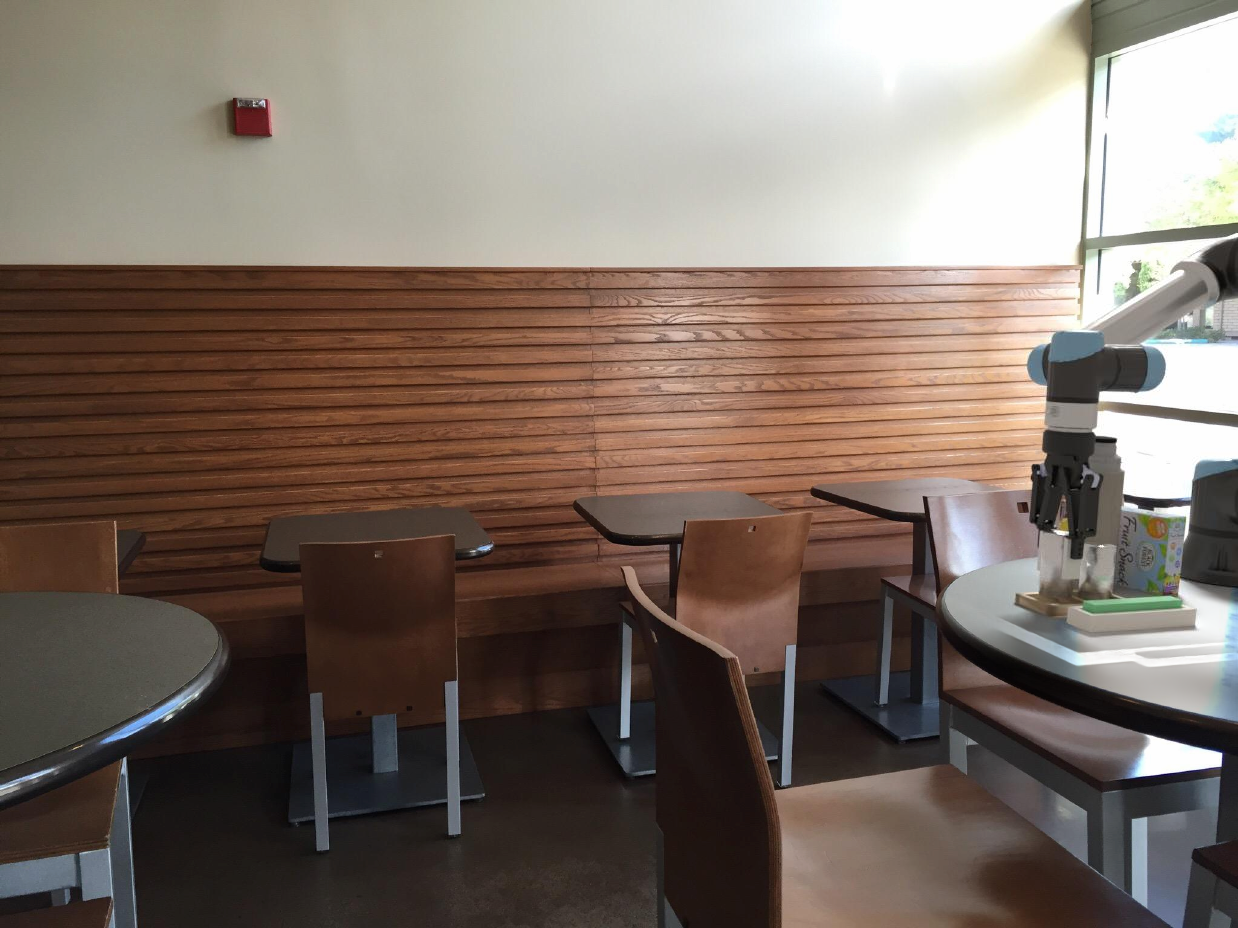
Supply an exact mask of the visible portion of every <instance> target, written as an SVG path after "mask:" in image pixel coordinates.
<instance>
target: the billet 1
mask: <svg viewBox="0 0 1238 928" xmlns="http://www.w3.org/2000/svg"><path fill="white" fill-rule="evenodd" d="M1066 535H1069V532H1067V531H1059V529H1058V530H1057V529H1051V530H1046V531H1043V541H1042V553H1041V565H1040V571H1039V579H1038V581H1039V582H1038V589H1037V590H1038V591H1037V592H1038V593H1039V594H1040V595H1043V596H1046V597H1051V598H1060V599H1067V598H1072V594H1073V590H1074V589H1073V583H1074V579H1066V580H1064V579H1061V575H1062V563H1063V551H1064V539H1065V536H1066Z"/></svg>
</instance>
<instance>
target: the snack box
mask: <svg viewBox="0 0 1238 928" xmlns="http://www.w3.org/2000/svg"><path fill="white" fill-rule="evenodd" d="M1186 524H1187V516H1185V515H1180V514H1174V513H1173V514H1172V513H1166V512H1160V511H1154V510H1149V509H1142V508H1137V507H1130V506H1125V505H1124V506H1123V505H1122V508H1121V519H1120V528H1119V535H1118V553H1117V564H1116V575H1115V585H1116V586H1119V587H1124V588H1127V589H1132V590H1135V591H1136V590H1137V591H1138V592H1139V591H1140V592H1145V593H1147V594H1148V593H1149V594H1153V595H1155V596H1156V595H1157V596H1171V595H1174V594H1175V595H1177V596H1178V595H1179V591H1180V580H1181V576H1180V573H1181V563H1182V554H1183V544H1184V542H1185V533H1186V527H1187V526H1186ZM1058 530H1059V531H1067V532H1068V521H1067V510H1066V500H1065V499H1061V503H1060V506H1059V521H1058Z"/></svg>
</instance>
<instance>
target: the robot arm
mask: <svg viewBox="0 0 1238 928" xmlns="http://www.w3.org/2000/svg"><path fill="white" fill-rule="evenodd" d="M1234 299H1238V232H1237V233H1233V234H1231V235H1229V236H1226V237H1223V238H1221V239H1219V240H1216V241H1215V242H1213V243H1210V244H1209V245H1207V246H1204V247H1203V248H1202V249H1200V250H1197V251H1196V252H1195V253H1194V252H1193V253H1192V254H1190V255H1189V256H1186V258H1184V259H1182V260H1181V261H1179V262H1177V263H1176V264H1175V265H1174V266H1173V267H1172V268H1171V270H1170V272H1169V275H1167V276H1166V277H1163V278H1162V279H1161V280H1159V281H1157V282H1156V283H1154V284H1153V285H1151V286H1149V287H1148V288H1147V289H1145V290H1143V291H1141V292H1140V293H1138V294H1137V295H1135V296H1133V297H1131V298H1130V299H1129V300H1127V301H1125V302H1123V303H1122V304H1120V305H1118V306H1117V307H1116V308H1114V309H1112V310H1110V311H1109V312H1107V313H1106V314H1104V315H1102V316H1101V317H1099V318H1097V319H1096V320H1095V321H1092V322H1091V323H1090V324H1088V325H1086V326H1085V327H1083V328H1081V329H1080V330H1066V329H1065V330H1058V331H1056V332H1054V333H1053V334H1052V336H1051V339H1050V342H1048V343H1042V344H1038V345H1037V346H1035V347H1034V348H1033V349H1032V350H1031V352H1030V353H1029V355H1028V357H1027V361H1026V369H1027V373H1028V376H1029V378H1030V379H1031V381H1032V382H1034V383H1035V384H1037V385H1039V386H1044V387H1046V396H1045V410H1044V423H1043V425H1044V426H1045V427H1047V429H1044V431H1043V432H1042V443H1041V451H1042V452H1043V453H1045V454H1046V457H1045V459H1044V462H1041V463H1032V465H1031V466H1030V467H1031V476H1032V484H1031V496H1030V506H1029V507H1030V508H1029V523H1030V524H1034V526H1036V529H1038V530H1037V531H1038V532H1037V533H1038V534H1037V549H1038V553H1037V567H1036V570H1037V571H1039V572H1040V565H1041V553H1042V541H1043V531H1046V530H1057V529H1058V526H1057V525H1055V524H1056V521H1057V517H1058V513H1059V511H1060V507H1061V501H1062V500H1063V499H1062V498H1063V496H1064V498H1065V499H1064V500H1066V510H1067V521H1068V531H1069V535H1066V536H1065V539H1064V551H1063V563H1062V575H1061V579H1064V580H1066V579H1079V574H1080V562H1081V559H1082V558H1083V550H1084V541H1085V539H1086V538H1088V537H1095V536H1096V532H1097V519H1098V506H1099V493H1100V487H1101V485H1102V482H1103V479H1104V477H1103V475H1102V474H1095V473H1094V472H1092V471H1091V470H1090V465H1089V457H1090V456H1092V455H1093V454H1094V450H1095V438H1096V436H1097V435H1096V433H1095V432H1094V431H1093V430H1094V429H1095V430H1096V428H1097V427H1098V414H1099V403H1100V402H1099V401H1100V392H1102V393H1103V392H1109V393H1110V392H1112V393H1126V392H1127V393H1134V394H1137V393H1142V392H1150V391H1153V390H1154V389H1156V388H1158V386H1160V384H1162V381H1164V379H1165V375H1166V371H1167V369H1166V367H1167V362H1166V359H1165V356H1164V355H1163V353H1162V352H1161V351H1160V350H1159V349H1158V348H1156V347H1155V346H1151V345H1144V344H1142V343H1143V342H1145V341H1147V340H1149V339H1150V338H1152V337H1153V336H1155V335H1156V334H1158V333H1160V332H1161V331H1164V329H1166V328H1167V327H1170V326H1171V325H1172V324H1174V323H1176V322H1178V321H1179V320H1181V319H1182V318H1184V317H1185V316H1187V315H1188V314H1191V313H1192V312H1193V311H1195V310H1199V311H1200V310H1201V311H1202V310H1206V309H1209V308H1210V307H1212V306H1214V305H1215V304H1217V303H1219V302H1220V303H1221V302H1223V301H1228V300H1234ZM1072 489H1077V490H1072ZM1190 496H1191V497H1190V508H1189V517H1188V518H1189V520H1188V531H1187V536H1186V537H1185V538H1184V544H1183V554H1182V563H1181V573H1180V578H1181V577H1182V578H1185V579H1188V580H1192V581H1194V582H1200V583H1205V584H1212V585H1218V586H1227V587H1238V458H1212V459H1211V458H1210V459H1208V458H1207V459H1201V460H1200V461H1198V462H1197V463H1196V465H1195V466H1194V472H1193V478H1192V479H1191V495H1190ZM1077 529H1078V530H1077ZM1076 530H1077V531H1076Z"/></svg>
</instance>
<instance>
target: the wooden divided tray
mask: <svg viewBox="0 0 1238 928" xmlns="http://www.w3.org/2000/svg"><path fill="white" fill-rule="evenodd" d="M1112 599H1125V597H1122V596H1120V595H1117V594H1115V593H1113V594H1112ZM1083 601H1086V600H1084V599H1081V598H1078V590H1077V589H1073V594H1072V598H1067V599H1060V598H1051V597H1046V596H1043V595H1040V594H1039V593H1038V591H1031V592H1015V597H1014V600H1012V602H1013V603H1016V604H1018V605H1021V606H1023V607H1025V608H1028V609H1030V610H1033V611H1035V612H1038V613H1041V614H1042V615H1045V616H1047V617H1050V618H1052V619H1063V618H1066V619H1067V613H1068V607H1069V606H1083Z"/></svg>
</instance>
